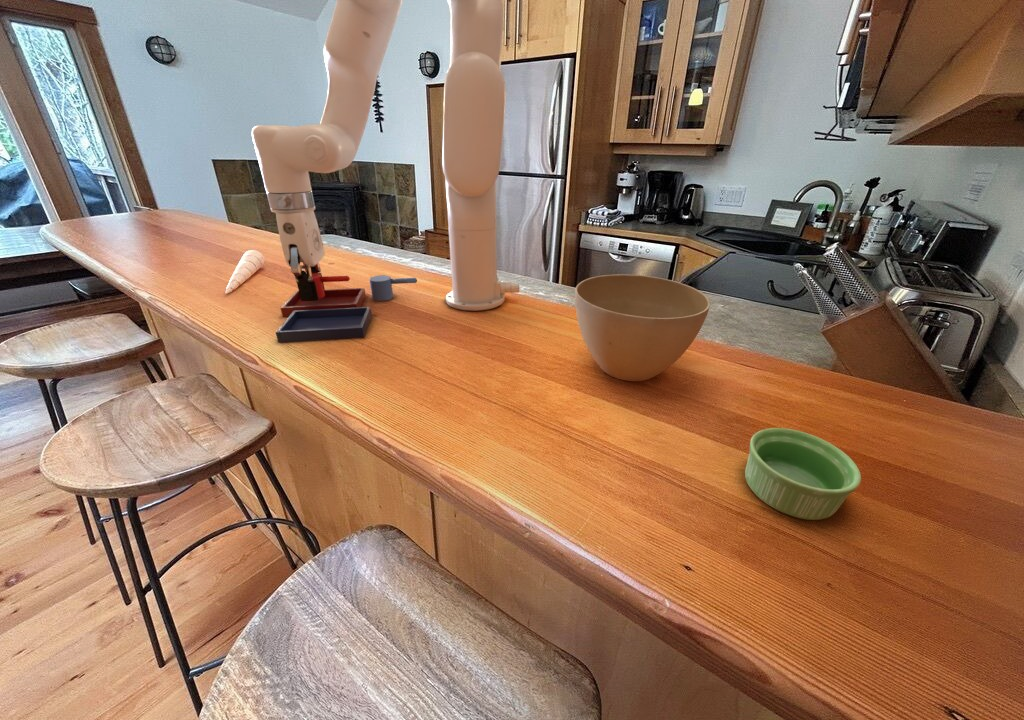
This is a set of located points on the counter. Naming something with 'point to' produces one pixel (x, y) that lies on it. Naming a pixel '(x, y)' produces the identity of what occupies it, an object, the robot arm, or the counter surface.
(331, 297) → the red tray
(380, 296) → the blue scoop
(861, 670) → the counter surface
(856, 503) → the counter surface
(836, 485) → the ramekin
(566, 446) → the counter surface
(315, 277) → the red scoop
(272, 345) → the counter surface
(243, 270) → the unicorn horn
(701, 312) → the tan bowl
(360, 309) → the blue tray
